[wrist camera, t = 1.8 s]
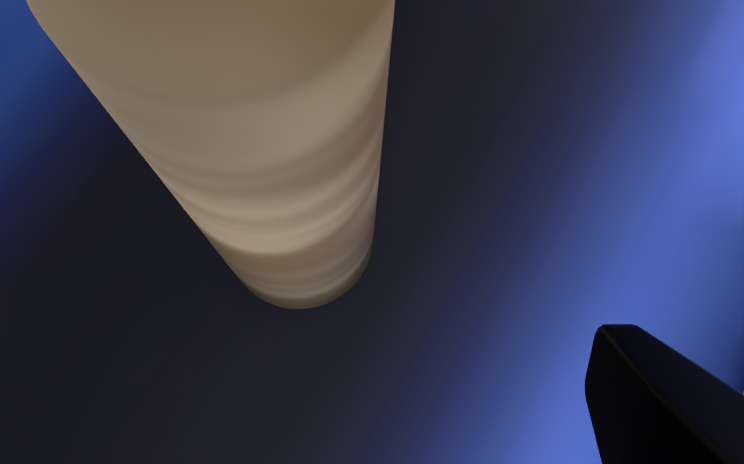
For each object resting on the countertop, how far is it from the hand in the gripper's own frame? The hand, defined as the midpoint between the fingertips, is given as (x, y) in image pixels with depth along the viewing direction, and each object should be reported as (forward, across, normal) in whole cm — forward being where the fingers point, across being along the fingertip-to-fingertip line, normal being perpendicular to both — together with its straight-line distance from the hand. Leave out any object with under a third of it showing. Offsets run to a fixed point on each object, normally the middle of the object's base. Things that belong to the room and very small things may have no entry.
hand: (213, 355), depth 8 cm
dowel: (+12, 0, +5) cm, 13 cm away
